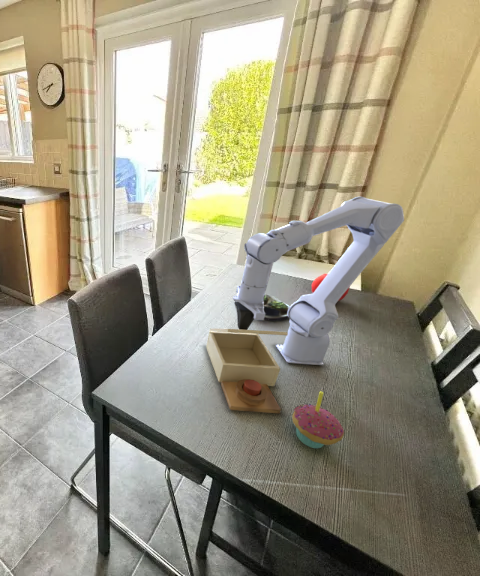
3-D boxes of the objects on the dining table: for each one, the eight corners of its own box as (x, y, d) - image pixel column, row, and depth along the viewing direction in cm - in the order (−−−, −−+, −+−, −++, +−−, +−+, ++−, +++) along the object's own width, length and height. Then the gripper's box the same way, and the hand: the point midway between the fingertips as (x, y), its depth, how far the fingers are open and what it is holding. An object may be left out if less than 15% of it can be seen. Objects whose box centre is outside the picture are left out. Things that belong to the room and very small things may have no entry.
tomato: (352, 305, 113) (363, 280, 108) (318, 305, 113) (327, 280, 108) (332, 291, 123) (341, 268, 118) (300, 291, 123) (308, 268, 118)
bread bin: (274, 386, 77) (280, 368, 74) (218, 382, 78) (222, 364, 75) (253, 350, 90) (258, 333, 87) (206, 347, 91) (209, 331, 88)
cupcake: (278, 422, 67) (294, 381, 62) (314, 419, 68) (333, 378, 62) (305, 459, 59) (326, 416, 54) (346, 456, 60) (370, 412, 55)
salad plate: (222, 297, 119) (224, 286, 117) (262, 292, 122) (265, 282, 120) (256, 324, 102) (259, 312, 100) (301, 317, 105) (305, 306, 103)
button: (256, 385, 73) (258, 379, 73) (262, 396, 70) (263, 391, 69) (240, 384, 74) (242, 378, 73) (245, 395, 71) (247, 389, 70)
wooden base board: (265, 387, 76) (269, 378, 75) (279, 413, 69) (283, 404, 68) (220, 384, 77) (222, 375, 76) (229, 409, 70) (232, 400, 69)
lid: (287, 335, 72) (287, 332, 72) (228, 332, 73) (228, 328, 73) (258, 333, 87) (258, 331, 87) (209, 331, 88) (209, 328, 88)
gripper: (229, 270, 82) (219, 313, 88) (247, 295, 69) (235, 344, 75) (256, 271, 81) (245, 314, 88) (280, 297, 69) (265, 345, 75)
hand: (242, 328), depth 81 cm, fingers closed
